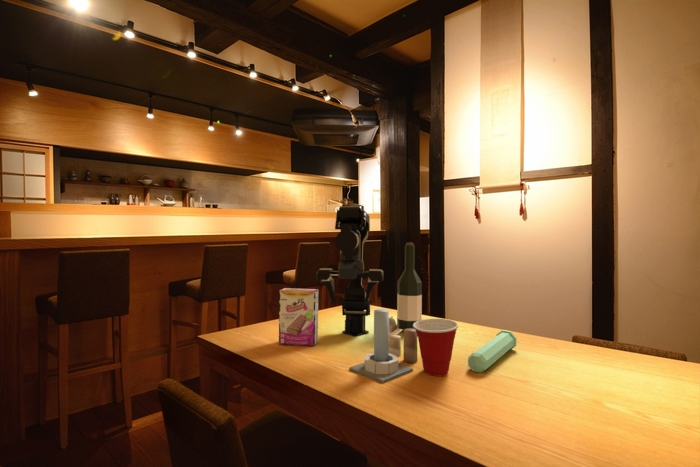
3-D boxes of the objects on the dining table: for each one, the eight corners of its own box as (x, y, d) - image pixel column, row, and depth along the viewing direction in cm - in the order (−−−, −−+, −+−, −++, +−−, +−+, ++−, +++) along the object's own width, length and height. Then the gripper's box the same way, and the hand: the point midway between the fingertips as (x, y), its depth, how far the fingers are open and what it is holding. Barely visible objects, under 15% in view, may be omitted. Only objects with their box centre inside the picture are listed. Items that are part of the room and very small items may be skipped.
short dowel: (393, 351, 108) (393, 334, 108) (403, 354, 105) (403, 336, 105) (384, 354, 105) (385, 336, 105) (395, 357, 103) (395, 339, 103)
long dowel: (377, 364, 96) (377, 308, 96) (390, 366, 94) (391, 310, 94) (371, 368, 93) (371, 311, 93) (384, 371, 91) (385, 313, 91)
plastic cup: (404, 367, 96) (404, 319, 96) (441, 362, 100) (441, 316, 100) (427, 383, 86) (428, 330, 86) (467, 377, 90) (468, 326, 89)
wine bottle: (395, 332, 128) (395, 243, 128) (399, 326, 136) (399, 242, 136) (420, 334, 126) (420, 243, 125) (422, 328, 134) (423, 242, 133)
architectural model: (402, 340, 120) (402, 317, 120) (395, 346, 114) (395, 321, 114) (392, 339, 122) (392, 316, 122) (384, 345, 116) (384, 320, 115)
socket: (379, 359, 101) (379, 347, 101) (412, 370, 93) (413, 358, 93) (349, 369, 94) (349, 357, 94) (382, 383, 86) (383, 369, 86)
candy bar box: (278, 345, 113) (278, 290, 113) (282, 340, 118) (283, 287, 118) (315, 346, 112) (315, 291, 112) (318, 341, 117) (318, 288, 117)
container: (481, 350, 91) (512, 327, 111) (459, 354, 95) (493, 332, 114) (491, 374, 90) (520, 347, 109) (468, 378, 93) (500, 351, 113)
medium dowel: (409, 357, 103) (409, 327, 103) (420, 360, 100) (420, 330, 100) (400, 360, 101) (400, 330, 101) (411, 363, 98) (411, 332, 98)
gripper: (312, 251, 102) (311, 309, 102) (382, 252, 99) (381, 311, 100) (320, 249, 113) (319, 301, 113) (383, 250, 111) (383, 303, 111)
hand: (349, 304), depth 109 cm, fingers open, 9 cm apart
